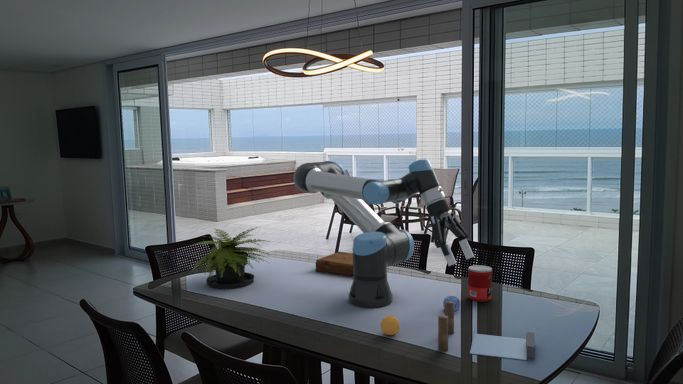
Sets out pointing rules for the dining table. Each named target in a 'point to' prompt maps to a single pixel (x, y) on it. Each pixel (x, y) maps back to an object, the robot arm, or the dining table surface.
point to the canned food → (480, 283)
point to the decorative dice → (453, 299)
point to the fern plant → (229, 261)
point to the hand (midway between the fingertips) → (461, 261)
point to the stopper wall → (530, 345)
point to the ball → (390, 325)
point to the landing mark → (499, 346)
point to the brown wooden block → (336, 264)
